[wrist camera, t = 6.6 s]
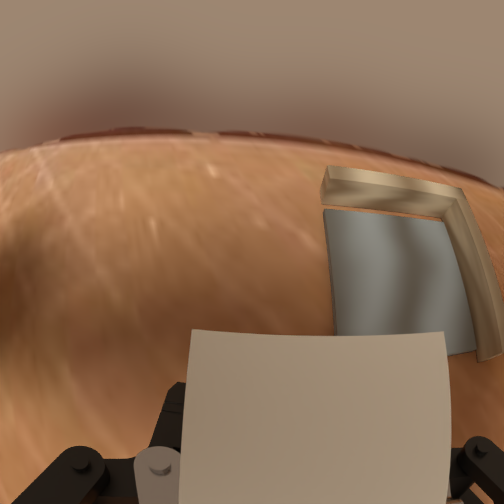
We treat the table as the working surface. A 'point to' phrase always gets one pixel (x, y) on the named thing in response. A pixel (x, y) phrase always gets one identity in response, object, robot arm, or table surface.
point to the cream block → (316, 419)
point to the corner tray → (409, 262)
